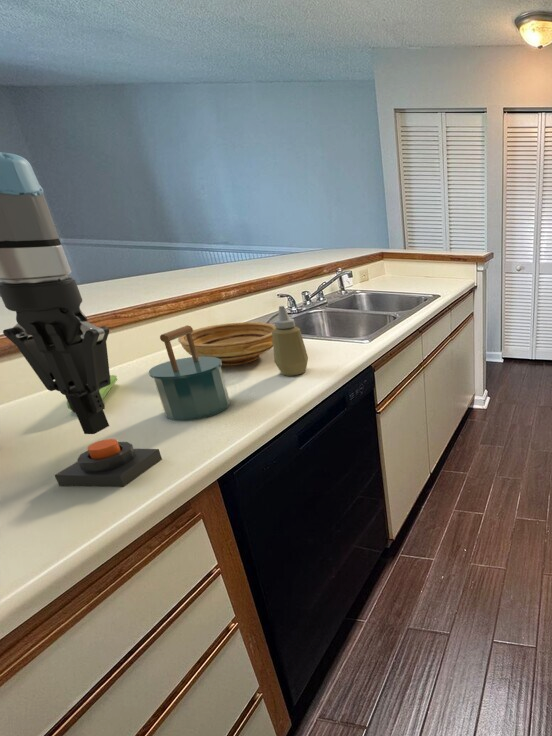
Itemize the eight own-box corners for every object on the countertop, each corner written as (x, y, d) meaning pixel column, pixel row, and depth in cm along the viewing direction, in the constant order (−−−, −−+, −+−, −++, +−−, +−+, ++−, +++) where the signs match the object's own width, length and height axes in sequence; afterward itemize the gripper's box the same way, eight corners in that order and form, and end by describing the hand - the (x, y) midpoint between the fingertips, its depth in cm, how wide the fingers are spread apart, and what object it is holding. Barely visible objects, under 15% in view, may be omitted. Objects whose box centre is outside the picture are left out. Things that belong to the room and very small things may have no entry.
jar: (152, 420, 87) (137, 378, 83) (190, 398, 97) (179, 359, 94) (208, 421, 87) (196, 379, 83) (240, 398, 97) (231, 360, 94)
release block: (59, 486, 66) (49, 465, 65) (104, 459, 74) (96, 439, 72) (124, 487, 66) (115, 466, 65) (162, 459, 74) (155, 439, 72)
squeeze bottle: (316, 371, 115) (305, 305, 108) (288, 380, 108) (275, 311, 101) (299, 365, 119) (287, 301, 112) (270, 373, 112) (256, 306, 105)
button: (84, 459, 67) (80, 450, 66) (104, 447, 70) (101, 438, 69) (107, 459, 67) (103, 450, 66) (126, 447, 70) (123, 438, 70)
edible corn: (64, 419, 87) (56, 398, 85) (99, 384, 103) (92, 367, 101) (97, 414, 89) (89, 394, 87) (126, 381, 105) (120, 364, 103)
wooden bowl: (307, 356, 126) (303, 330, 123) (224, 382, 106) (216, 352, 103) (247, 341, 139) (241, 317, 135) (162, 361, 119) (153, 334, 116)
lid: (134, 381, 83) (118, 337, 79) (179, 361, 94) (167, 321, 91) (197, 382, 83) (185, 338, 80) (235, 362, 94) (225, 322, 91)
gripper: (107, 275, 61) (156, 419, 70) (16, 274, 61) (77, 418, 70) (57, 283, 54) (118, 442, 63) (-46, 282, 54) (30, 441, 63)
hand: (97, 429), depth 67 cm, fingers closed
